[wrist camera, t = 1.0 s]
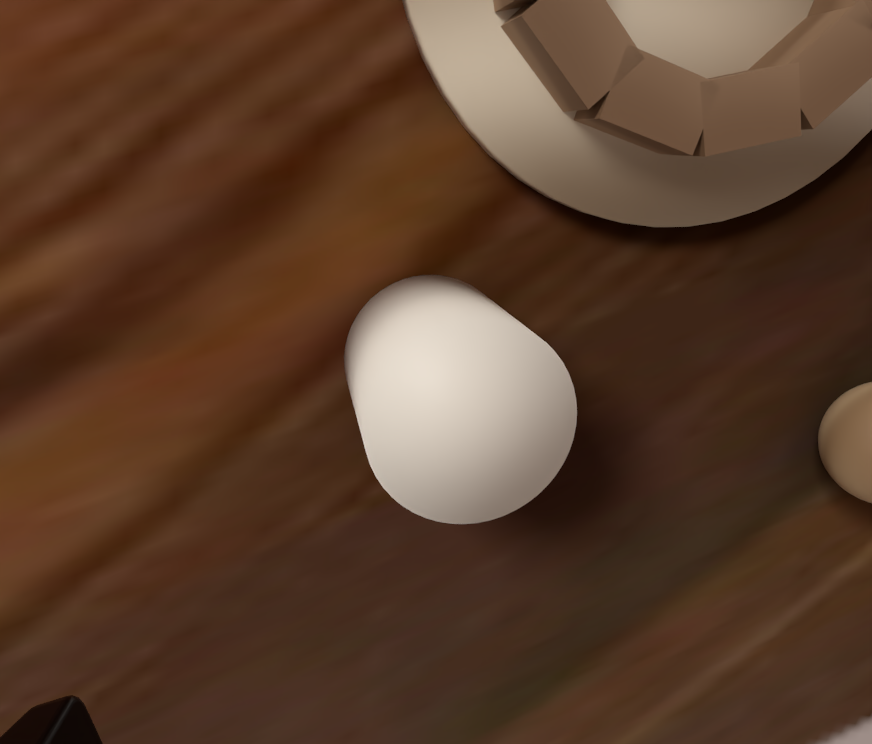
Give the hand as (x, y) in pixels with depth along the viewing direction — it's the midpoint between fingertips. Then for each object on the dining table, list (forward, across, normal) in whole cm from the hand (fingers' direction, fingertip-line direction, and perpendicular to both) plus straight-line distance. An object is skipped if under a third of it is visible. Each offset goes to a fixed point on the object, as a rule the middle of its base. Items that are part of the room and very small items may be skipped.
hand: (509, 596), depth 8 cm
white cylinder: (+12, -1, +1) cm, 12 cm away
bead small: (+12, -13, +6) cm, 19 cm away
